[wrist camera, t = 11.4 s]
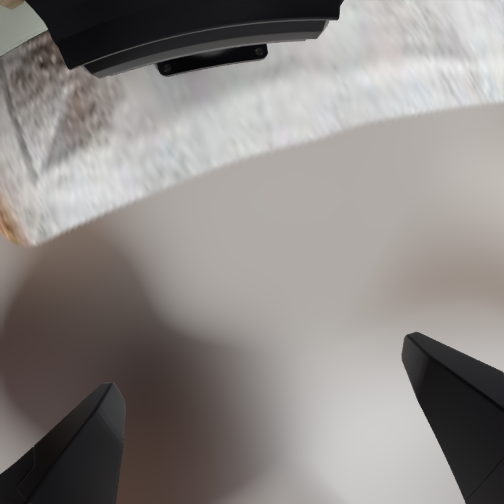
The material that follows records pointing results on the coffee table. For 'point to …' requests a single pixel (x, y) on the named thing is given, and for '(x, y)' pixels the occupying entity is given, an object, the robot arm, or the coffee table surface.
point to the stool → (11, 3)
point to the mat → (18, 26)
